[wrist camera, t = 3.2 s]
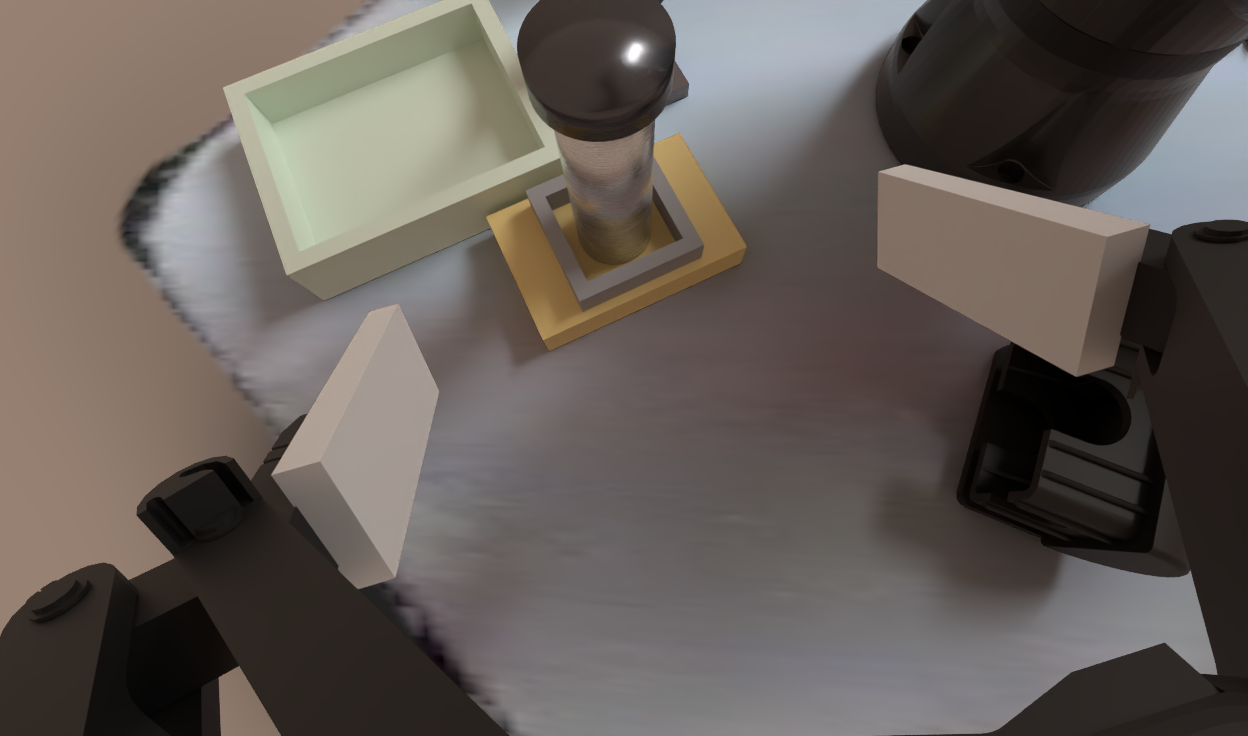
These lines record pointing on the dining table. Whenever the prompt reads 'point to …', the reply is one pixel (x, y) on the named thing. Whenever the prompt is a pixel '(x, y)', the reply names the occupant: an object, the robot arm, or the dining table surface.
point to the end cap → (1073, 463)
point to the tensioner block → (599, 293)
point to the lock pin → (602, 110)
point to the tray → (391, 143)
